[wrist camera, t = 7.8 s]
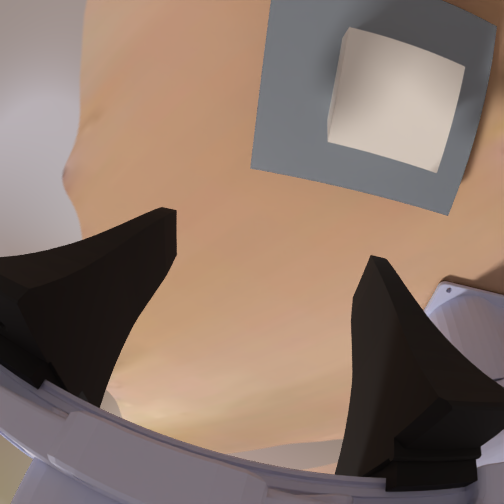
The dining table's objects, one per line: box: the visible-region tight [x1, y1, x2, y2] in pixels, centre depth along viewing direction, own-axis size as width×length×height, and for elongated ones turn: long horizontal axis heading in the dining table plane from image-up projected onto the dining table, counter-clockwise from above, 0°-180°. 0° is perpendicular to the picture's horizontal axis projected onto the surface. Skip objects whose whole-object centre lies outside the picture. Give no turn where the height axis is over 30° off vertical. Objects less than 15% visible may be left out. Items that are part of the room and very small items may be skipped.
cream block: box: [327, 27, 465, 173], centre depth 12 cm, size 4×4×5 cm
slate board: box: [251, 0, 497, 216], centre depth 14 cm, size 12×12×2 cm
